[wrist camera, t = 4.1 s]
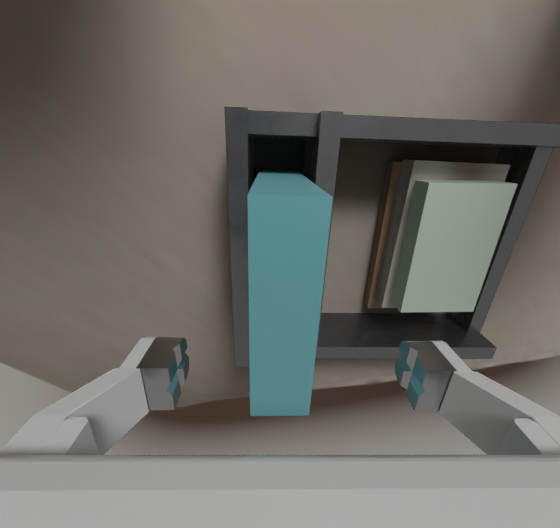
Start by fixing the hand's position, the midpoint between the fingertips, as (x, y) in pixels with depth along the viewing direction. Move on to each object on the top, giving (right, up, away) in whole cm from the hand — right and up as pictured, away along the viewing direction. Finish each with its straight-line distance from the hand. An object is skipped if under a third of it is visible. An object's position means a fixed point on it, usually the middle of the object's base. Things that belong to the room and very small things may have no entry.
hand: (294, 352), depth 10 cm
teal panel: (-1, +6, +13) cm, 15 cm away
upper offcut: (+12, +5, +11) cm, 17 cm away
